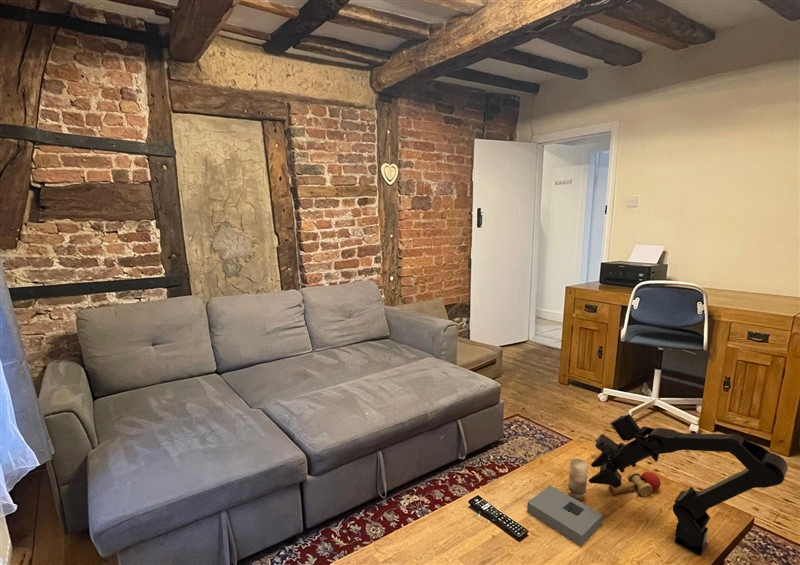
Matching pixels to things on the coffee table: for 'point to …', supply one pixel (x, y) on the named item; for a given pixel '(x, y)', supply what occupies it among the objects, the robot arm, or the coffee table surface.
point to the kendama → (639, 483)
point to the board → (565, 514)
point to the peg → (578, 478)
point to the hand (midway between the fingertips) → (590, 473)
